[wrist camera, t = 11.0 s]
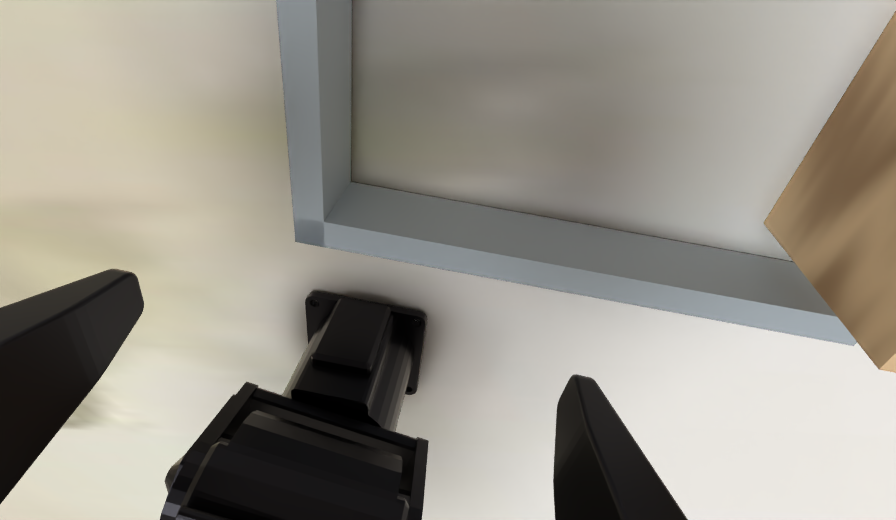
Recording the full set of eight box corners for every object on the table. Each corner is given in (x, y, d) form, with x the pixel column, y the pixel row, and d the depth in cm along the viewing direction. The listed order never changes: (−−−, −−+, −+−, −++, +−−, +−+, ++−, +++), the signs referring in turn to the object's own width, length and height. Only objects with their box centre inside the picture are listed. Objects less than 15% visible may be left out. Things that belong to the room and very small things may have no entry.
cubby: (809, 288, 21) (853, 345, 18) (325, 200, 22) (295, 241, 19) (1209, -230, 11) (1437, -282, 8) (307, -359, 12) (241, -445, 9)
